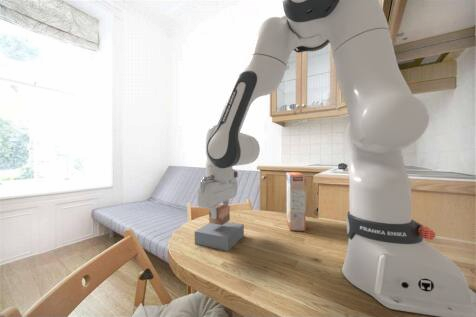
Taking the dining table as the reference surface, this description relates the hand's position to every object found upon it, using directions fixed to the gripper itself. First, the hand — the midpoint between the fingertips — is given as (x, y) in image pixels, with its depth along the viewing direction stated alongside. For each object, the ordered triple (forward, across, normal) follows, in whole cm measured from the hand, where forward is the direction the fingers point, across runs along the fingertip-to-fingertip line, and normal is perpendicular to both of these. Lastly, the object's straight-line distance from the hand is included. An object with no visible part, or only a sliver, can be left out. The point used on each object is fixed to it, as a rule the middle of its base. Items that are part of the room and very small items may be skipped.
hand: (219, 215), depth 65 cm
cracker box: (+8, +24, -21) cm, 33 cm away
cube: (+2, 0, 0) cm, 2 cm away
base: (+8, 0, 0) cm, 8 cm away
